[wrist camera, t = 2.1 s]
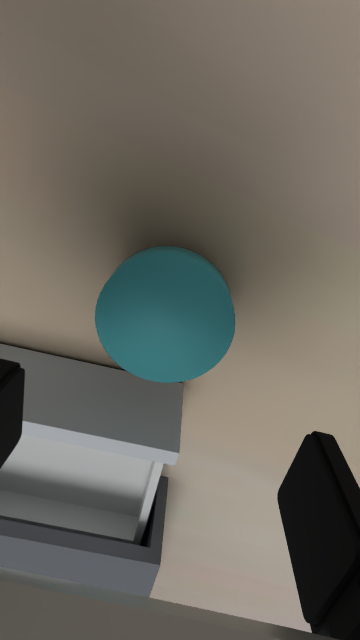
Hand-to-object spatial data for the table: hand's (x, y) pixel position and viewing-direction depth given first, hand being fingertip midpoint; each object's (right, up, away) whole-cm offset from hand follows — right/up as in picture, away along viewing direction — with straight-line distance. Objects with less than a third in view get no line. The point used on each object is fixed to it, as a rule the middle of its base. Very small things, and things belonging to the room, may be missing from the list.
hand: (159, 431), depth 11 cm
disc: (0, +4, +8) cm, 9 cm away
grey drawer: (-8, -5, +16) cm, 19 cm away
